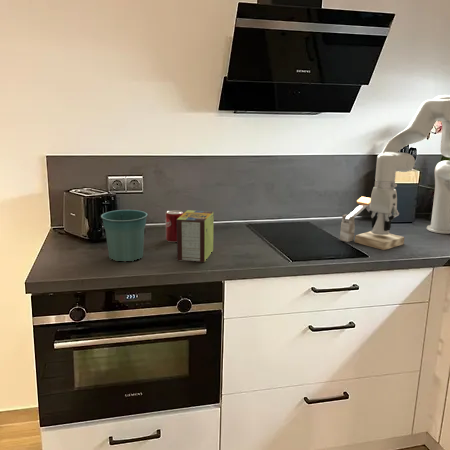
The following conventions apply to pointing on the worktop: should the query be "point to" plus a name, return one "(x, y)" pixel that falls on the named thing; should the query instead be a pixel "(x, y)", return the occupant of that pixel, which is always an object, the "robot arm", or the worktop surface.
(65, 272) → the worktop surface
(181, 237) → the protein box
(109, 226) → the flower pot
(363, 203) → the lever
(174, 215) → the soda can
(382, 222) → the flask
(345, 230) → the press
